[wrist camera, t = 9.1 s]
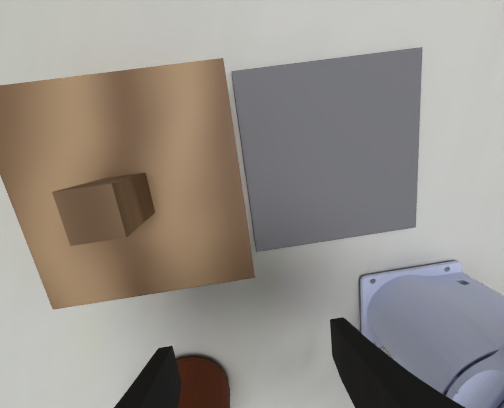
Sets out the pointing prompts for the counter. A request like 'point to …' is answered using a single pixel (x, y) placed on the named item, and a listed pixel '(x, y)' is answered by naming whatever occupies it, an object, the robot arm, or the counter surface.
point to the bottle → (202, 384)
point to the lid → (126, 181)
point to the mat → (330, 146)
